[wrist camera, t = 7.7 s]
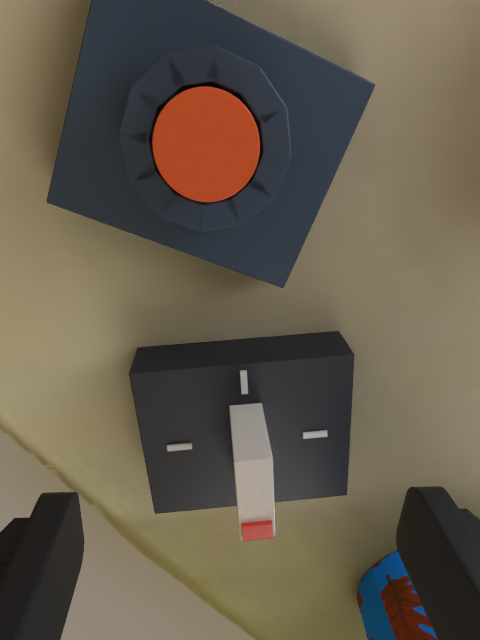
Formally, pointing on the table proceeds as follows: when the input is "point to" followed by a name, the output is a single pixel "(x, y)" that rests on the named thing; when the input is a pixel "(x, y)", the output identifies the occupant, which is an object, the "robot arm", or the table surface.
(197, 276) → the table surface
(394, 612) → the thermos
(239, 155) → the button
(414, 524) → the robot arm
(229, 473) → the dial panel
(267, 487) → the white rectangular block
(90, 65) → the switch block
